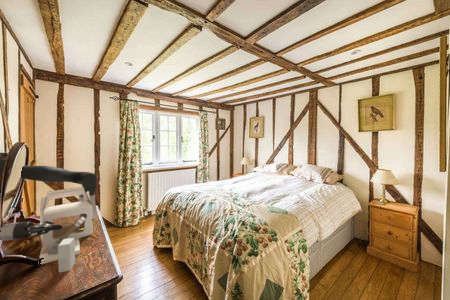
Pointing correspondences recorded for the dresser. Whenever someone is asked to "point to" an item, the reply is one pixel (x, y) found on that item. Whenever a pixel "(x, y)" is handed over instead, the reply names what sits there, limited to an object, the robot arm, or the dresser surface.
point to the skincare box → (66, 254)
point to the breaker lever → (72, 229)
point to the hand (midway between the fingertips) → (61, 226)
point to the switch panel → (55, 256)
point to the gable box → (66, 214)
